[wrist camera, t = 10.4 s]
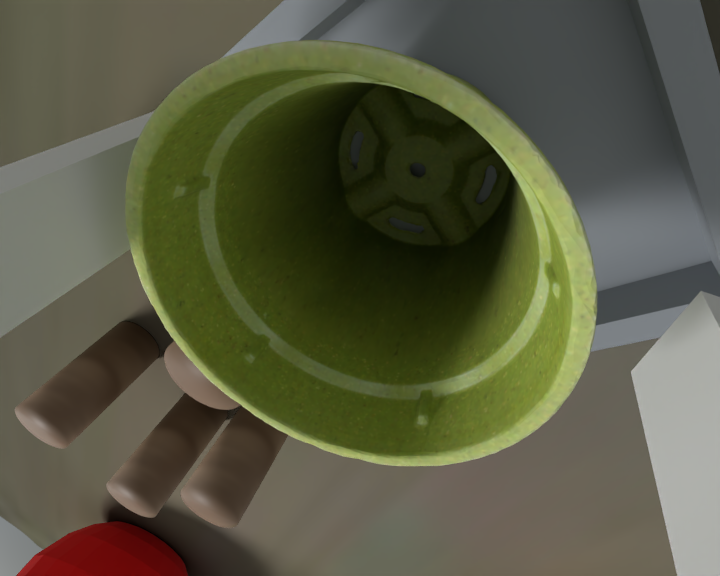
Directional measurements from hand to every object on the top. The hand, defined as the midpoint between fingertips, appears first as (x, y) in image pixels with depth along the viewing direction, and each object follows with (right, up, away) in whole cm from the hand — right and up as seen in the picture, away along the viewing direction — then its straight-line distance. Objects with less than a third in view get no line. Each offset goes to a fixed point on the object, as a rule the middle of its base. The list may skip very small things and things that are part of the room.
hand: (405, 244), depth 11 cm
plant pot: (+1, +3, +4) cm, 5 cm away
